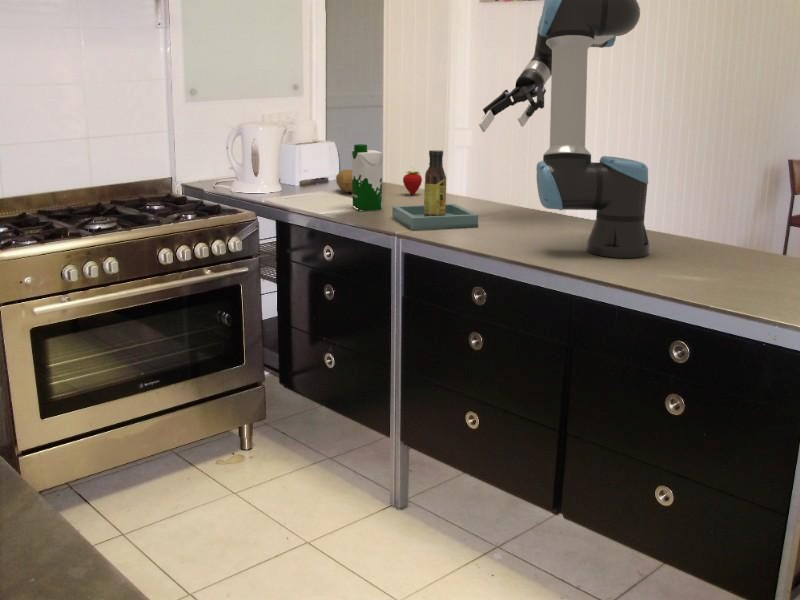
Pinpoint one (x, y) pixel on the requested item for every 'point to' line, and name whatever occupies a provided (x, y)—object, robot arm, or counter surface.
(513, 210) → the counter surface
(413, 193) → the strawberry
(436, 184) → the sauce bottle
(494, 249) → the counter surface
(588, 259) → the counter surface
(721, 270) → the counter surface
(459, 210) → the tray
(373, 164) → the milk carton
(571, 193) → the robot arm
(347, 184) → the potato
